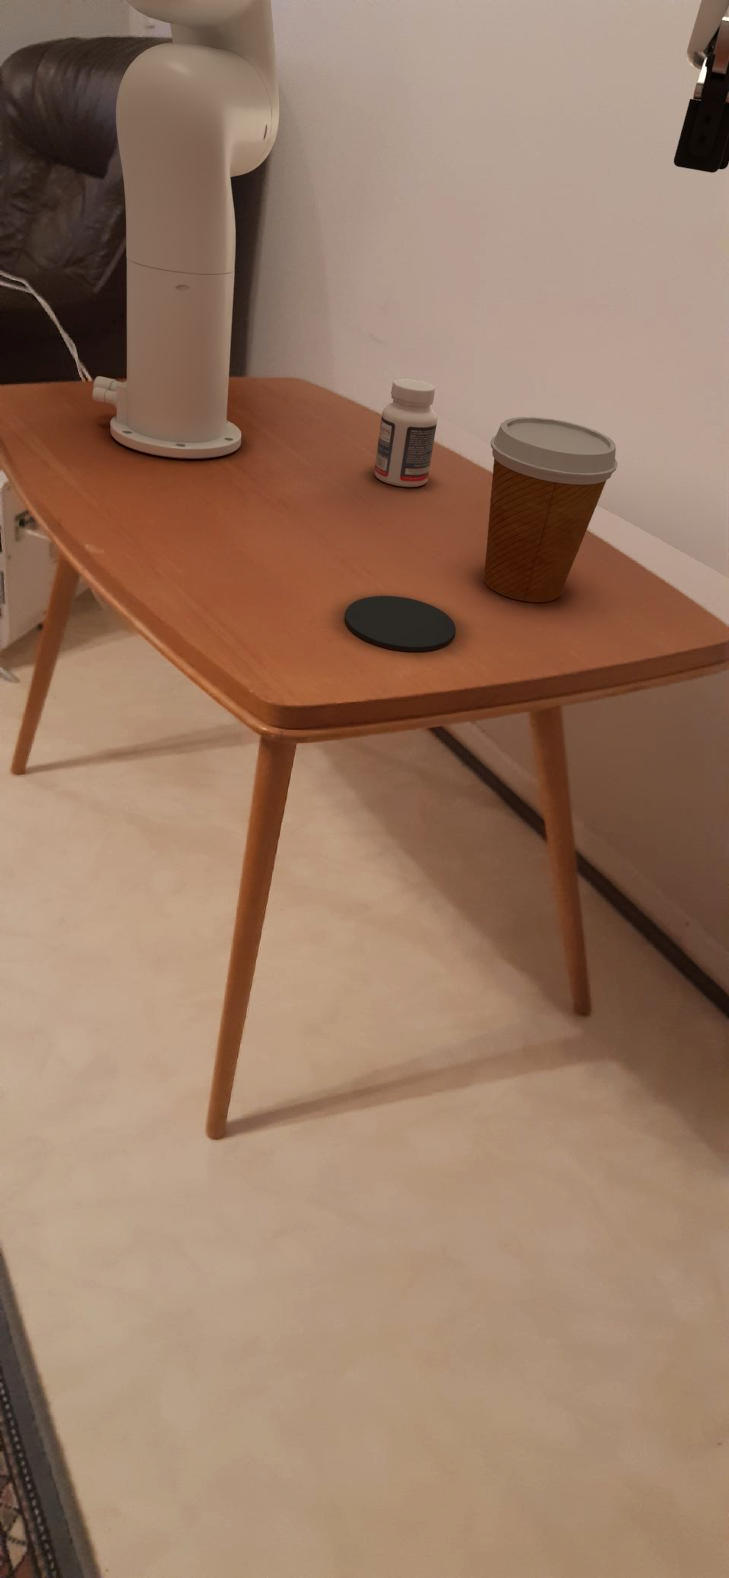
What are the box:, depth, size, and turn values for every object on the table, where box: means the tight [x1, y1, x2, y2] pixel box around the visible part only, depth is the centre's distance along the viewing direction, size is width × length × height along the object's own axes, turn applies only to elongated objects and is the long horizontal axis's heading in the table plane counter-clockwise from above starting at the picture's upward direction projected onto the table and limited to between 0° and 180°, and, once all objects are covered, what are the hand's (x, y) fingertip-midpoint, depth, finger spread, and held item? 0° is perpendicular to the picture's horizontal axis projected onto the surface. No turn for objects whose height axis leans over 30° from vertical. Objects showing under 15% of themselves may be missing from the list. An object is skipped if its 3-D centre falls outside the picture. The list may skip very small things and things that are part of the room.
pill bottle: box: [374, 378, 438, 488], centre depth 97 cm, size 5×5×9 cm
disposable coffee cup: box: [483, 416, 619, 603], centre depth 79 cm, size 10×10×12 cm
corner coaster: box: [344, 595, 457, 653], centre depth 73 cm, size 8×8×1 cm
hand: (700, 168), depth 77 cm, fingers open, 9 cm apart
